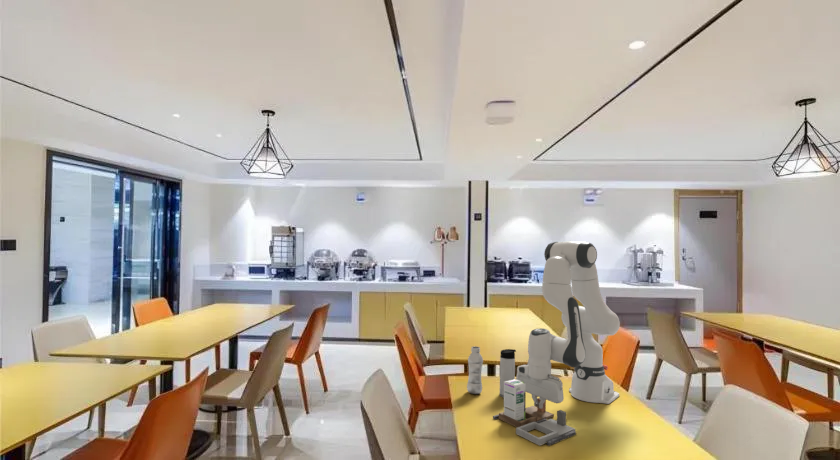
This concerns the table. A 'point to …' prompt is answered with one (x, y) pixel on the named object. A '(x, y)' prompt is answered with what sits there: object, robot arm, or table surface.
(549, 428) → the grey sliding lid frame
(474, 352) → the plastic bottle
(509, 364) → the travel mug
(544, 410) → the brown flat tabbed frame
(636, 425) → the table surface
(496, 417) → the lane rails
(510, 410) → the syrup box
